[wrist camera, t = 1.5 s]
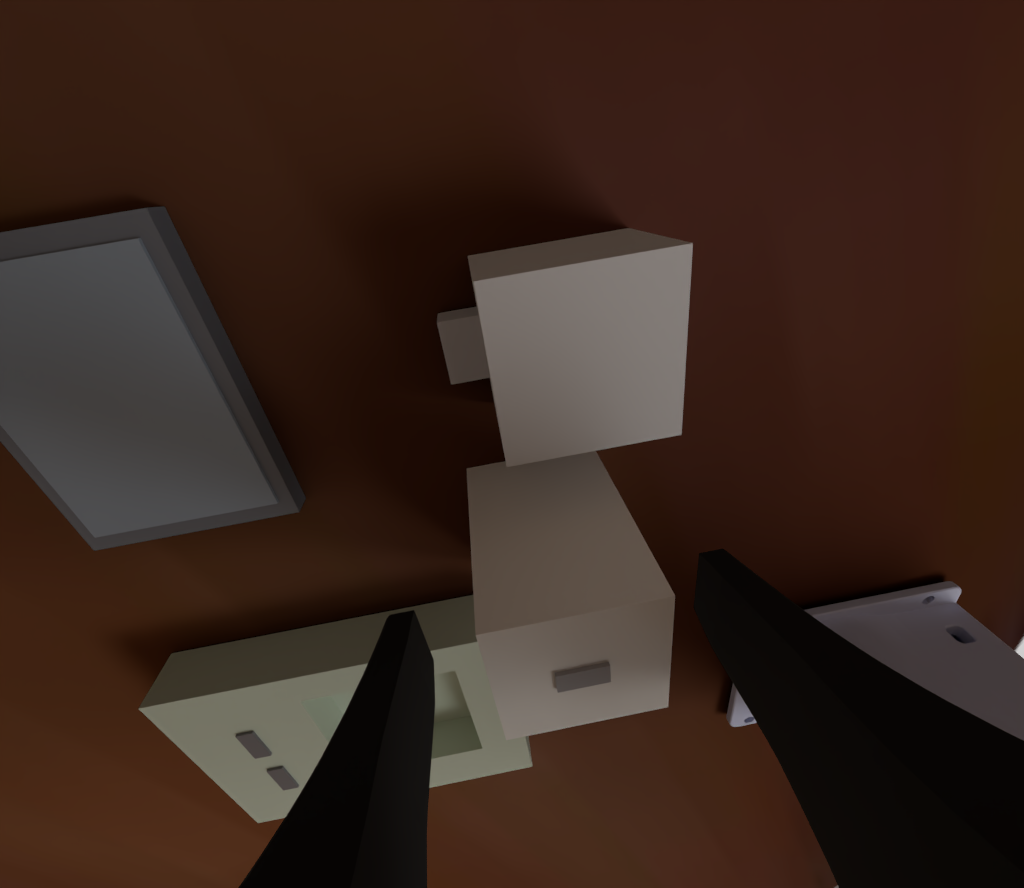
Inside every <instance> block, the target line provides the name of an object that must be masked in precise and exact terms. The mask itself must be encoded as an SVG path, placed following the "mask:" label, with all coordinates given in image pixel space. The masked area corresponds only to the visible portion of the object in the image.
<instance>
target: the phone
mask: <svg viewBox="0 0 1024 888" xmlns="http://www.w3.org/2000/svg"><path fill="white" fill-rule="evenodd" d="M0 442H1V443H2V444H3V445H4V446H5V447H6V449H7V450H8V451H9V452H10V453H11V454H12V456H13V457H14V458H15V459H16V460H17V461H18V463H19V464H20V465H21V466H22V467H23V468H24V470H25V471H26V472H27V473H28V474H29V475H30V477H31V478H32V479H33V480H34V481H35V482H36V484H37V485H38V486H39V487H40V488H41V489H42V491H43V492H44V493H45V494H46V495H47V496H48V498H49V499H50V500H51V501H52V502H53V503H54V505H55V506H56V507H57V508H58V509H59V510H60V512H61V513H62V514H63V515H64V516H65V517H66V519H67V520H68V521H69V522H70V523H71V524H72V526H73V527H74V528H75V529H76V530H77V531H78V533H79V534H80V535H81V536H82V537H83V538H84V540H85V541H86V542H87V543H88V544H89V545H90V547H91V548H92V549H93V550H94V551H96V550H101V549H106V548H111V547H117V546H122V545H127V544H133V543H138V542H143V541H149V540H154V539H159V538H165V537H170V536H175V535H181V534H186V533H191V532H196V531H202V530H207V529H212V528H218V527H223V526H228V525H234V524H239V523H244V522H250V521H255V520H260V519H266V518H271V517H276V516H281V515H287V514H292V513H297V512H300V510H301V508H302V506H303V504H304V501H305V499H306V497H305V495H304V493H303V491H302V489H301V487H300V485H299V483H298V481H297V479H296V476H295V474H294V472H293V470H292V468H291V466H290V464H289V462H288V460H287V458H286V456H285V454H284V452H283V450H282V448H281V446H280V443H279V441H278V439H277V437H276V435H275V433H274V431H273V429H272V427H271V425H270V423H269V421H268V419H267V417H266V415H265V413H264V410H263V408H262V406H261V404H260V402H259V400H258V398H257V396H256V394H255V392H254V390H253V388H252V386H251V384H250V382H249V380H248V377H247V375H246V373H245V371H244V369H243V367H242V365H241V363H240V361H239V359H238V357H237V355H236V353H235V351H234V349H233V347H232V344H231V342H230V340H229V338H228V336H227V334H226V332H225V330H224V328H223V326H222V324H221V322H220V320H219V318H218V316H217V314H216V311H215V309H214V307H213V305H212V303H211V301H210V299H209V297H208V295H207V293H206V291H205V289H204V287H203V285H202V283H201V281H200V278H199V276H198V274H197V272H196V270H195V268H194V266H193V264H192V262H191V260H190V258H189V256H188V254H187V252H186V250H185V247H184V245H183V243H182V241H181V239H180V237H179V235H178V233H177V231H176V229H175V227H174V225H173V223H172V221H171V219H170V217H169V214H168V212H167V210H166V208H165V206H164V207H150V208H142V209H136V210H130V211H124V212H118V213H112V214H106V215H101V216H95V217H89V218H83V219H77V220H71V221H65V222H59V223H53V224H48V225H42V226H36V227H30V228H24V229H18V230H12V231H6V232H0Z"/></svg>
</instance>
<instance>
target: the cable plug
mask: <svg viewBox="0 0 1024 888" xmlns="http://www.w3.org/2000/svg"><path fill="white" fill-rule="evenodd" d="M692 249H693V243H690V242H686V241H681V240H677V239H673V238H669V237H664V236H660V235H656V234H652V233H648V232H643V231H639V230H635V229H631V228H626V229H620V230H614V231H608V232H603V233H597V234H591V235H585V236H579V237H574V238H568V239H562V240H556V241H551V242H545V243H539V244H533V245H527V246H522V247H516V248H510V249H504V250H498V251H493V252H487V253H481V254H475V255H469V256H468V262H469V267H470V273H471V278H472V284H473V289H474V295H475V300H476V306H477V307H471V308H465V309H459V310H454V311H448V312H442V313H438V316H437V326H438V330H439V334H440V339H441V343H442V347H443V352H444V356H445V360H446V365H447V369H448V373H449V378H450V382H451V385H452V384H458V383H463V382H469V381H474V380H480V379H485V378H490V383H491V388H492V394H493V399H494V405H495V410H496V415H497V420H498V425H499V430H500V435H501V440H502V445H503V450H504V456H505V461H506V466H507V467H511V466H516V465H522V464H527V463H533V462H538V461H543V460H549V459H554V458H559V457H565V456H570V455H575V454H581V453H586V452H591V451H597V450H602V449H608V448H613V447H618V446H624V445H629V444H634V443H640V442H645V441H650V440H656V439H661V438H666V437H672V436H677V435H682V418H683V401H684V384H685V367H686V350H687V334H688V317H689V300H690V283H691V266H692Z"/></svg>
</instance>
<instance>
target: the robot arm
mask: <svg viewBox="0 0 1024 888" xmlns="http://www.w3.org/2000/svg"><path fill="white" fill-rule="evenodd" d="M960 594H961V588H960V587H959V586H957V585H956V584H955V583H954V582H951V581H946V582H941V583H936V584H931V585H926V586H921V587H916V588H911V589H906V590H901V591H896V592H891V593H886V594H880V595H875V596H870V597H865V598H860V599H855V600H850V601H845V602H840V603H835V604H830V605H825V606H820V607H815V608H810V609H805V610H803V609H802V608H800V607H799V606H798V605H796V604H795V603H793V602H792V601H791V600H789V599H788V598H787V597H785V596H784V595H783V594H781V593H780V592H779V591H777V590H776V589H775V588H773V587H772V586H771V585H769V584H768V583H767V582H766V581H764V580H763V579H762V578H760V577H759V576H758V575H756V574H755V573H754V572H753V571H751V570H750V569H749V568H747V567H746V566H745V565H744V564H742V563H741V562H740V561H738V560H737V559H736V558H735V557H733V556H732V555H731V554H729V553H728V552H727V551H725V550H724V549H719V550H714V551H709V552H704V553H699V561H698V571H697V581H696V590H695V600H694V609H695V611H696V614H697V616H698V618H699V620H700V623H701V625H702V627H703V630H704V632H705V634H706V636H707V638H708V640H709V642H710V644H711V646H712V648H713V650H714V652H715V654H716V655H717V657H718V659H719V660H720V662H721V664H722V665H723V667H724V669H725V670H726V672H727V674H728V676H729V677H730V679H731V681H732V682H733V685H732V690H731V695H730V701H729V706H728V711H727V716H726V717H727V720H728V722H729V724H730V725H731V726H733V727H739V726H744V725H748V724H753V723H757V724H758V725H759V727H760V729H761V730H762V732H763V734H764V735H765V737H766V739H767V740H768V742H769V744H770V746H771V748H772V749H773V751H774V753H775V755H776V757H777V758H778V760H779V762H780V764H781V766H782V768H783V770H784V772H785V774H786V776H787V778H788V780H789V782H790V784H791V786H792V788H793V790H794V793H795V795H796V797H797V799H798V801H799V803H800V805H801V807H802V809H803V811H804V813H805V815H806V817H807V819H808V821H809V824H810V826H811V828H812V830H813V832H814V834H815V836H816V838H817V840H818V843H819V845H820V847H821V849H822V851H823V853H824V855H825V857H826V859H827V862H828V864H829V866H830V868H831V871H832V873H833V875H834V877H835V879H836V882H837V884H838V886H839V888H1024V659H1023V658H1022V657H1021V656H1020V655H1018V654H1017V653H1016V652H1015V651H1014V650H1012V649H1011V648H1010V647H1009V646H1008V645H1006V644H1005V643H1004V642H1003V641H1002V640H1000V639H999V638H998V637H997V636H995V635H994V634H993V633H992V632H991V631H989V630H988V629H987V628H986V627H985V626H983V625H982V624H981V623H980V622H979V621H977V620H976V619H975V618H974V617H973V616H971V615H970V614H969V613H968V612H966V611H965V610H964V609H963V608H962V607H960V606H959V605H958V604H957V603H956V601H957V600H958V598H959V596H960ZM434 715H435V678H434V659H433V657H432V654H431V652H430V649H429V647H428V644H427V641H426V639H425V636H424V634H423V631H422V629H421V626H420V623H419V621H418V618H417V616H416V613H415V611H414V610H412V611H407V612H401V613H396V614H391V615H389V616H388V618H387V619H386V621H385V624H384V626H383V629H382V631H381V634H380V636H379V639H378V641H377V644H376V646H375V648H374V651H373V653H372V655H371V658H370V660H369V662H368V664H367V667H366V669H365V671H364V673H363V676H362V678H361V680H360V682H359V684H358V686H357V688H356V690H355V692H354V694H353V697H352V699H351V701H350V703H349V705H348V707H347V709H346V711H345V713H344V715H343V717H342V719H341V721H340V723H339V725H338V727H337V728H336V730H335V732H334V734H333V736H332V738H331V740H330V742H329V744H328V745H327V747H326V749H325V751H324V753H323V755H322V757H321V758H320V760H319V762H318V764H317V765H316V767H315V769H314V771H313V773H312V774H311V776H310V778H309V779H308V781H307V783H306V785H305V786H304V788H303V790H302V791H301V793H300V795H299V796H298V798H297V799H296V801H295V803H294V804H293V806H292V808H291V809H290V811H289V813H288V814H287V816H286V817H285V819H284V820H283V822H282V823H281V825H280V827H279V828H278V830H277V831H276V833H275V834H274V836H273V837H272V839H271V840H270V842H269V843H268V845H267V847H266V848H265V850H264V851H263V853H262V854H261V856H260V857H259V859H258V860H257V862H256V863H255V865H254V866H253V868H252V869H251V871H250V872H249V873H248V875H247V876H246V878H245V879H244V881H243V882H242V884H241V885H240V886H239V888H427V813H428V799H429V785H430V771H431V758H432V744H433V730H434Z"/></svg>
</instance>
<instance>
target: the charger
mask: <svg viewBox="0 0 1024 888" xmlns="http://www.w3.org/2000/svg"><path fill="white" fill-rule="evenodd" d="M466 470H467V488H468V507H469V525H470V543H471V561H472V579H473V597H474V615H475V633H476V638H477V642H478V645H479V649H480V652H481V656H482V659H483V662H484V666H485V669H486V673H487V676H488V680H489V683H490V686H491V690H492V693H493V697H494V700H495V704H496V707H497V711H498V714H499V717H500V721H501V724H502V728H503V731H504V735H505V738H506V740H510V739H515V738H520V737H525V736H530V735H534V734H539V733H544V732H549V731H554V730H559V729H564V728H569V727H573V726H578V725H583V724H588V723H593V722H598V721H603V720H608V719H612V718H617V717H622V716H627V715H632V714H637V713H642V712H646V711H651V710H656V709H661V708H666V707H668V700H669V685H670V669H671V654H672V638H673V623H674V608H675V594H674V593H673V591H672V589H671V587H670V585H669V583H668V582H667V580H666V578H665V576H664V574H663V572H662V571H661V569H660V567H659V565H658V563H657V562H656V560H655V558H654V556H653V554H652V552H651V551H650V549H649V547H648V545H647V543H646V542H645V540H644V538H643V536H642V534H641V532H640V531H639V529H638V527H637V525H636V523H635V521H634V520H633V518H632V516H631V514H630V512H629V511H628V509H627V507H626V505H625V503H624V501H623V500H622V498H621V496H620V494H619V492H618V490H617V489H616V487H615V485H614V483H613V481H612V480H611V478H610V476H609V474H608V472H607V470H606V469H605V467H604V465H603V463H602V461H601V460H600V458H599V456H598V454H597V452H596V451H591V452H586V453H581V454H575V455H570V456H565V457H559V458H554V459H549V460H543V461H538V462H533V463H527V464H522V465H516V466H511V467H507V466H506V461H504V462H498V463H493V464H488V465H482V466H477V467H471V468H466Z"/></svg>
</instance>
